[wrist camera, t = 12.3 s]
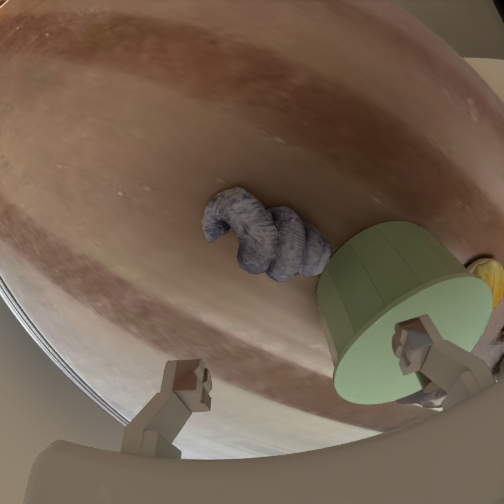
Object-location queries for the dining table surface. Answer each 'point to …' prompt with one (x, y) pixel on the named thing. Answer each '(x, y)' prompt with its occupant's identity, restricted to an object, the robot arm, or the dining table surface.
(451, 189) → the dining table surface
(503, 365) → the vase
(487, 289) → the pot lid
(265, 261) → the seashell
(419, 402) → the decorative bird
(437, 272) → the pot
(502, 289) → the bread roll
